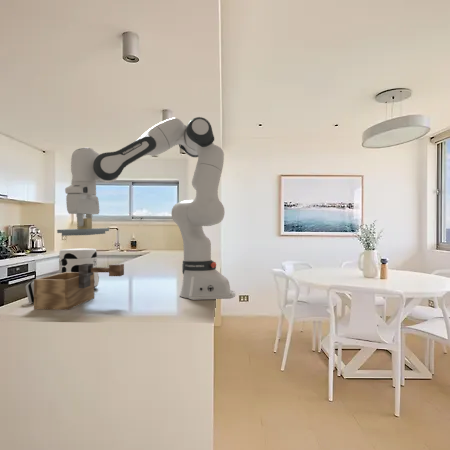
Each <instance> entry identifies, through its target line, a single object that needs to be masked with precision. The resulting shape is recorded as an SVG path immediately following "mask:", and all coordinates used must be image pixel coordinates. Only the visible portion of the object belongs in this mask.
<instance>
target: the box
mask: <svg viewBox="0 0 450 450" xmlns="http://www.w3.org/2000/svg"><path fill="white" fill-rule="evenodd" d="M91 268H93V264H82V265H79V272H64V273H60V274H58V273H56V274H52V275H46V276H47V277H43V276H42V277H43V278H39V277H38V278H39V279H37V278H35V280H34V279H33V280H34V303H33V309H34V310H57V311H58V310H60V311H61V310H62V311H63V310H65V311H66V310H67V311H68V310H71V309H73V308H75V307H77V306H79V305H82V304H83V303H87V302H88V301H90V300H92V298H93V299H95V288H94V272H91Z"/></svg>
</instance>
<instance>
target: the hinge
mask: <svg viewBox="0 0 450 450" xmlns="http://www.w3.org/2000/svg"><path fill="white" fill-rule="evenodd" d="M47 276H48V275H45V276H40V277H37V278H35V279H39V278H43V277H47ZM35 279H32V280H31V281H30V282H28V283H27V284H26V285H25V287H24V288H25V291H26V296H27V299H28V300H27V301H28V303H29V305H31V304H34V280H35Z"/></svg>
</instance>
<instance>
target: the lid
mask: <svg viewBox="0 0 450 450" xmlns="http://www.w3.org/2000/svg"><path fill="white" fill-rule="evenodd" d="M83 220H84V221H85V225H84V226H79V225H78V220H77V219H76V224H77V225H76V226H77V227H76V228H67V229H64V228H63V229H57V230H56V231H57V234H61V236H62V237H63V236H65V237H66V236H67V237H68V236H69V237H70V236H92V235H103V234H106V232H109V231H110V228H109V227H107V228H106V227H104V228H103V227H99V228H97V227H96V228H95V227H94V228H93V218H92V219H91V218H84V217H83Z"/></svg>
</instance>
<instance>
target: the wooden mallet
mask: <svg viewBox="0 0 450 450" xmlns="http://www.w3.org/2000/svg"><path fill="white" fill-rule="evenodd" d="M91 272H98V273H108V276H109V277H122V276H124V275H125V264H124V263H111V264H109V265H108V267H106V266H105V267H101V266H100V267H99V266H97V267H94V268H91Z"/></svg>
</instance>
